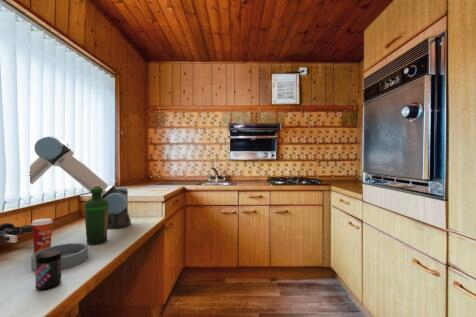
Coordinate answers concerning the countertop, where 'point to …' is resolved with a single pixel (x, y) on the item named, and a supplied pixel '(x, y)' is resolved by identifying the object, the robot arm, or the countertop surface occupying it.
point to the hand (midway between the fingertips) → (33, 234)
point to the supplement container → (47, 270)
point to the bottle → (96, 217)
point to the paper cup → (42, 233)
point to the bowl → (67, 254)
